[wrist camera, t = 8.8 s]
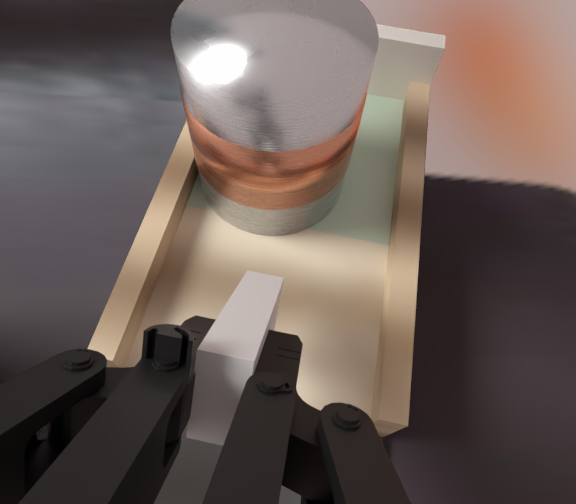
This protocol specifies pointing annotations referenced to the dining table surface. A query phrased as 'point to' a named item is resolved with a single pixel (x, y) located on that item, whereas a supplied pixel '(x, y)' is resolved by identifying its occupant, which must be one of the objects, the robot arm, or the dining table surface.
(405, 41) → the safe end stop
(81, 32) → the dining table surface
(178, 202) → the tray
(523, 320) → the dining table surface
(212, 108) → the tin
